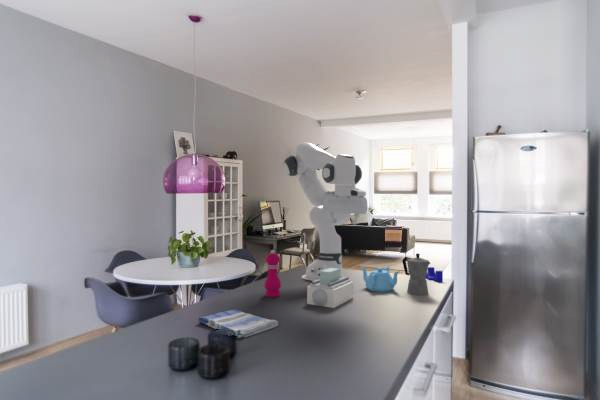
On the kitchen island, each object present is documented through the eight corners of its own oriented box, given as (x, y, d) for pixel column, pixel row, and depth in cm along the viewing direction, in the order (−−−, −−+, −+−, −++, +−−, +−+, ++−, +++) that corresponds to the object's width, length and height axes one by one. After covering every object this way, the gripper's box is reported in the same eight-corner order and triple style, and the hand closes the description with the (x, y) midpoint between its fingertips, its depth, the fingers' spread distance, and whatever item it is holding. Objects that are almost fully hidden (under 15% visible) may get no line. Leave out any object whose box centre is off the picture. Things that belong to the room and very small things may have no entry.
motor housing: (306, 304, 164) (306, 281, 164) (331, 293, 182) (331, 273, 182) (332, 308, 157) (332, 285, 157) (355, 296, 176) (355, 276, 176)
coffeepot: (436, 295, 179) (436, 254, 179) (422, 298, 174) (422, 256, 174) (409, 288, 192) (409, 250, 192) (395, 291, 187) (395, 252, 186)
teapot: (368, 294, 181) (368, 271, 181) (359, 286, 196) (359, 265, 196) (400, 293, 183) (400, 270, 183) (389, 285, 198) (389, 264, 198)
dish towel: (239, 340, 124) (239, 331, 124) (196, 324, 140) (196, 315, 140) (280, 327, 137) (280, 318, 137) (236, 313, 153) (236, 305, 153)
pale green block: (320, 283, 166) (320, 271, 166) (332, 278, 175) (332, 267, 175) (329, 284, 163) (329, 272, 163) (341, 279, 173) (341, 268, 173)
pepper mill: (282, 293, 182) (282, 248, 181) (279, 297, 174) (279, 251, 174) (266, 293, 182) (266, 248, 182) (263, 297, 175) (263, 250, 175)
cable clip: (424, 278, 217) (424, 267, 217) (433, 278, 217) (433, 267, 217) (433, 283, 205) (433, 271, 205) (442, 283, 205) (442, 271, 205)
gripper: (320, 191, 179) (319, 222, 179) (363, 192, 168) (362, 225, 168) (327, 191, 184) (326, 221, 185) (369, 192, 173) (368, 224, 174)
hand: (344, 223), depth 176 cm, fingers open, 8 cm apart
